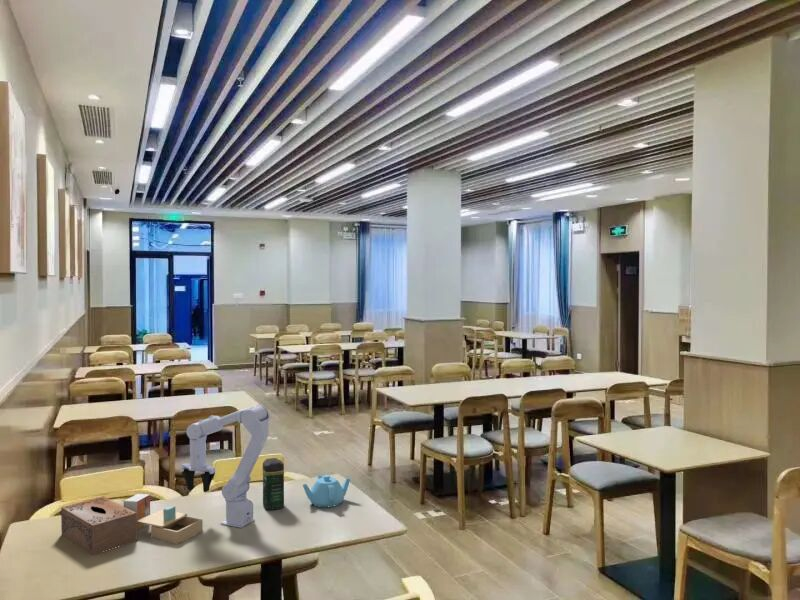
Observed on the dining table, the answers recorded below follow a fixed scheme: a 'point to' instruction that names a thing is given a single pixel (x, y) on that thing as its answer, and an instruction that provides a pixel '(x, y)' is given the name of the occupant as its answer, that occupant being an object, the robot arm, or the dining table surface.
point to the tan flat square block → (162, 517)
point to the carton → (178, 530)
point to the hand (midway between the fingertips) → (198, 490)
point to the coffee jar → (273, 483)
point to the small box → (139, 506)
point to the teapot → (326, 491)
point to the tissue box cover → (99, 524)
